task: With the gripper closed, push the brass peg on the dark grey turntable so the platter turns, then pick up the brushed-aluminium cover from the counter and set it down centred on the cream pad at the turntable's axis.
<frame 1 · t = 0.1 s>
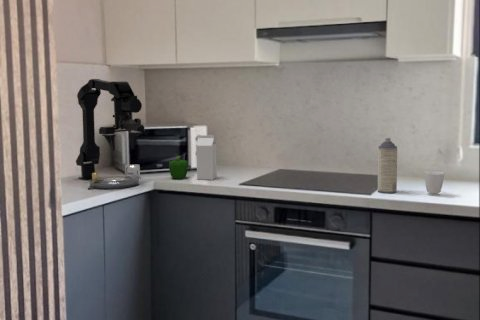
hand: (123, 150, 229), 15 cm above the worktop, fingers open, 9 cm apart
cover: (132, 178, 247), on the worktop
aerosol can: (387, 192, 206), on the worktop
cup: (433, 194, 200), on the worktop
index mark: (90, 189, 223), on the worktop
bell pepper: (178, 178, 246), on the worktop
turntable: (114, 177, 230), point 3 cm above the worktop, hinge at 0.0°
milk carton: (207, 179, 243), on the worktop
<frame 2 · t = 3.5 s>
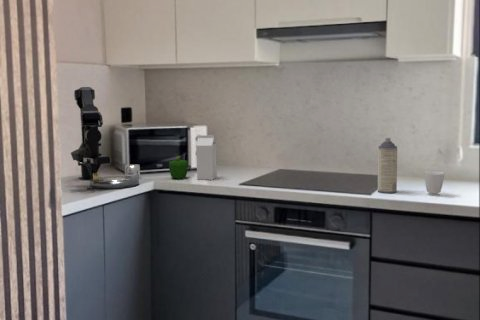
hand: (92, 179, 225), 4 cm above the worktop, fingers closed
turntable: (114, 177, 230), point 3 cm above the worktop, hinge at 3.7°, touching gripper
everything else where it was.
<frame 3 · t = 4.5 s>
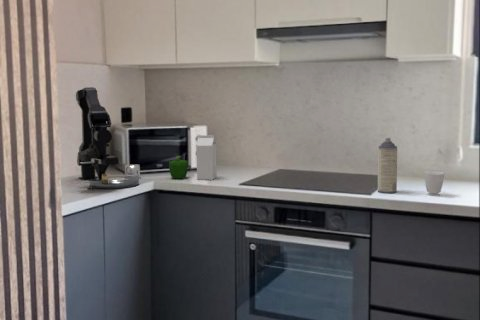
hand: (100, 179, 223), 4 cm above the worktop, fingers closed
turntable: (114, 177, 230), point 3 cm above the worktop, hinge at 32.5°, touching gripper
everything else where it was.
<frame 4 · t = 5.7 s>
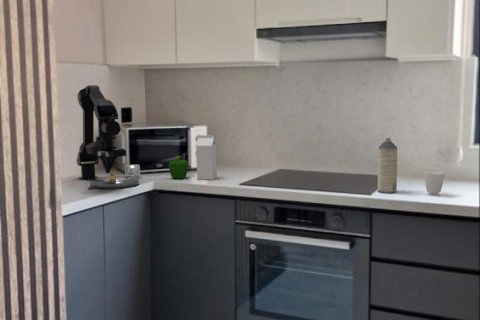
hand: (107, 172, 221), 7 cm above the worktop, fingers closed
turntable: (114, 177, 230), point 3 cm above the worktop, hinge at 52.7°
everything else where it was.
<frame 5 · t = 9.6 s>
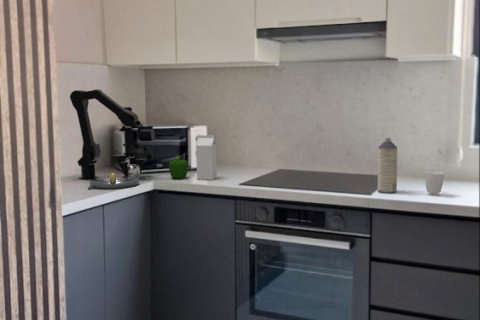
hand: (132, 176, 247), 1 cm above the worktop, fingers closed on cover, 6 cm apart
cover: (132, 178, 247), on the worktop, touching gripper
everything else where it was.
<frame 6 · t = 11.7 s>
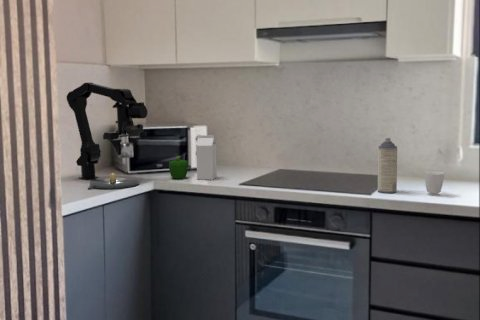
hand: (125, 154, 240), 12 cm above the worktop, fingers closed on cover, 6 cm apart
cover: (126, 156, 240), point 10 cm above the worktop, touching gripper
everything else where it was.
when the fingers open (5 cm above the worktop, at t = 14.0 s): cover drops 2 cm, resting on turntable.
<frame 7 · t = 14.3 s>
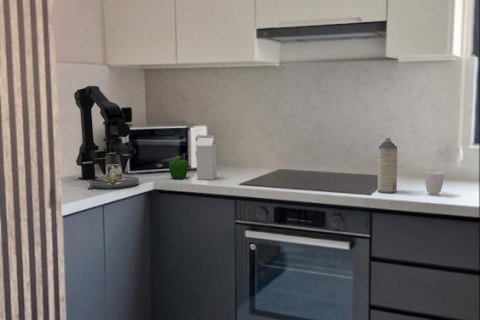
hand: (114, 173, 230), 5 cm above the worktop, fingers open, 9 cm apart
cover: (114, 179, 230), point 2 cm above the worktop, touching turntable
turntable: (114, 177, 230), point 3 cm above the worktop, hinge at 52.7°, touching cover
everything else where it was.
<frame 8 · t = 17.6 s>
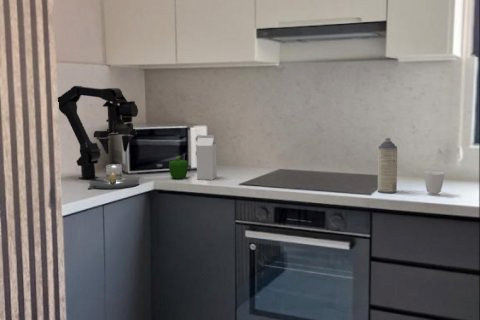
hand: (116, 152, 243), 12 cm above the worktop, fingers open, 9 cm apart
nothing on the worktop moved.
at the end: turntable at +53° (first picture: +0°); cover 0.0 cm from the turntable (horizontally); cover tilted 0° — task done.
